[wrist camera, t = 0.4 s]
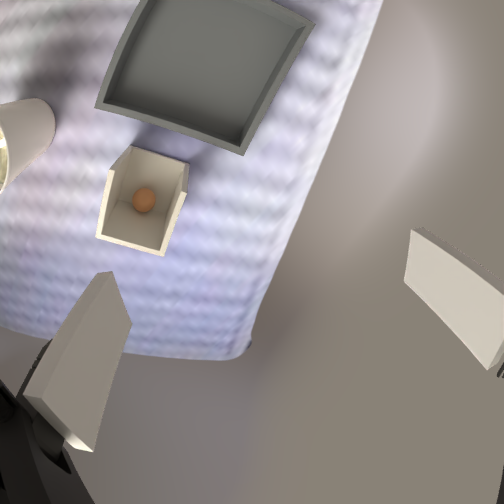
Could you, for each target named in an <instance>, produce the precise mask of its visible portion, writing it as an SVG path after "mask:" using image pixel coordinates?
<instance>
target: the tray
mask: <svg viewBox="0 0 504 504" xmlns="http://www.w3.org/2000/svg"><path fill="white" fill-rule="evenodd" d="M315 25H316V24H315V23H313V22H311V21H309V20H308V19H306V18H304V17H302V16H301V15H299V14H297V13H295V12H293V11H291V10H289V9H287V8H285V7H283V6H281V5H279V4H277V3H275V2H273V1H271V0H140V2H139V4H138V6H137V7H136V9H135V11H134V13H133V15H132V17H131V19H130V21H129V22H128V24H127V26H126V28H125V31H124V33H123V35H122V37H121V39H120V41H119V43H118V46H117V48H116V50H115V52H114V55H113V57H112V60H111V62H110V64H109V67H108V70H107V72H106V75H105V77H104V80H103V83H102V86H101V89H100V91H99V94H98V97H97V101H96V104H95V107H94V108H96V109H100V110H104V111H108V112H112V113H116V114H119V115H123V116H126V117H130V118H134V119H137V120H140V121H144V122H147V123H150V124H154V125H157V126H160V127H163V128H166V129H169V130H172V131H176V132H179V133H181V134H184V135H187V136H190V137H193V138H196V139H199V140H202V141H204V142H207V143H210V144H213V145H215V146H218V147H221V148H223V149H226V150H228V151H231V152H234V153H236V154H239V155H241V156H244V154H245V152H246V150H247V148H248V146H249V144H250V142H251V140H252V138H253V136H254V134H255V132H256V130H257V128H258V126H259V124H260V123H261V121H262V119H263V117H264V115H265V113H266V111H267V109H268V107H269V105H270V104H271V102H272V100H273V98H274V96H275V94H276V92H277V91H278V89H279V87H280V85H281V83H282V81H283V80H284V78H285V76H286V74H287V73H288V71H289V69H290V67H291V65H292V64H293V62H294V60H295V58H296V57H297V55H298V53H299V51H300V50H301V48H302V46H303V45H304V43H305V41H306V40H307V38H308V36H309V34H310V33H311V31H312V29H313V28H314V26H315Z"/></svg>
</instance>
